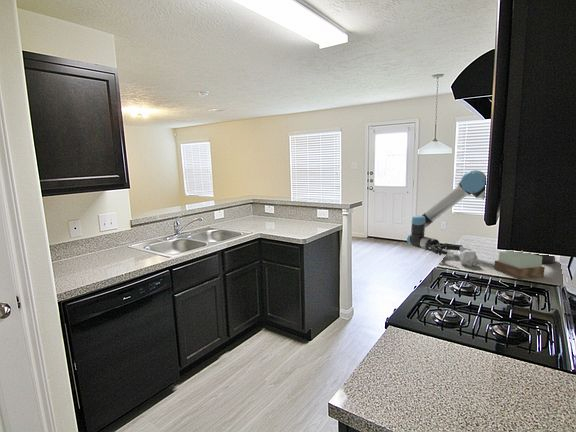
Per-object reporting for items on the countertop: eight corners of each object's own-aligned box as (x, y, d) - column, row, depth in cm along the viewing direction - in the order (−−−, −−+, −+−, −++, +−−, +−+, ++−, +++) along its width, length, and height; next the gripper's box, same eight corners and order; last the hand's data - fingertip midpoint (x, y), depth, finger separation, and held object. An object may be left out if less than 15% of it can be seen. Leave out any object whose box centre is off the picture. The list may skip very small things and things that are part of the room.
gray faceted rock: (462, 268, 168) (476, 255, 164) (451, 256, 174) (465, 244, 170) (471, 271, 172) (485, 259, 168) (460, 260, 178) (473, 247, 174)
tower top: (518, 259, 164) (519, 250, 164) (541, 266, 153) (542, 256, 152) (498, 261, 162) (499, 251, 162) (519, 268, 151) (520, 258, 150)
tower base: (518, 268, 166) (519, 259, 166) (543, 277, 153) (544, 267, 152) (494, 270, 164) (494, 260, 163) (517, 279, 150) (518, 269, 150)
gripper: (444, 248, 198) (477, 256, 179) (413, 252, 188) (444, 262, 169) (445, 236, 197) (478, 243, 178) (414, 240, 187) (445, 248, 168)
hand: (462, 252), depth 173 cm, fingers open, 13 cm apart
